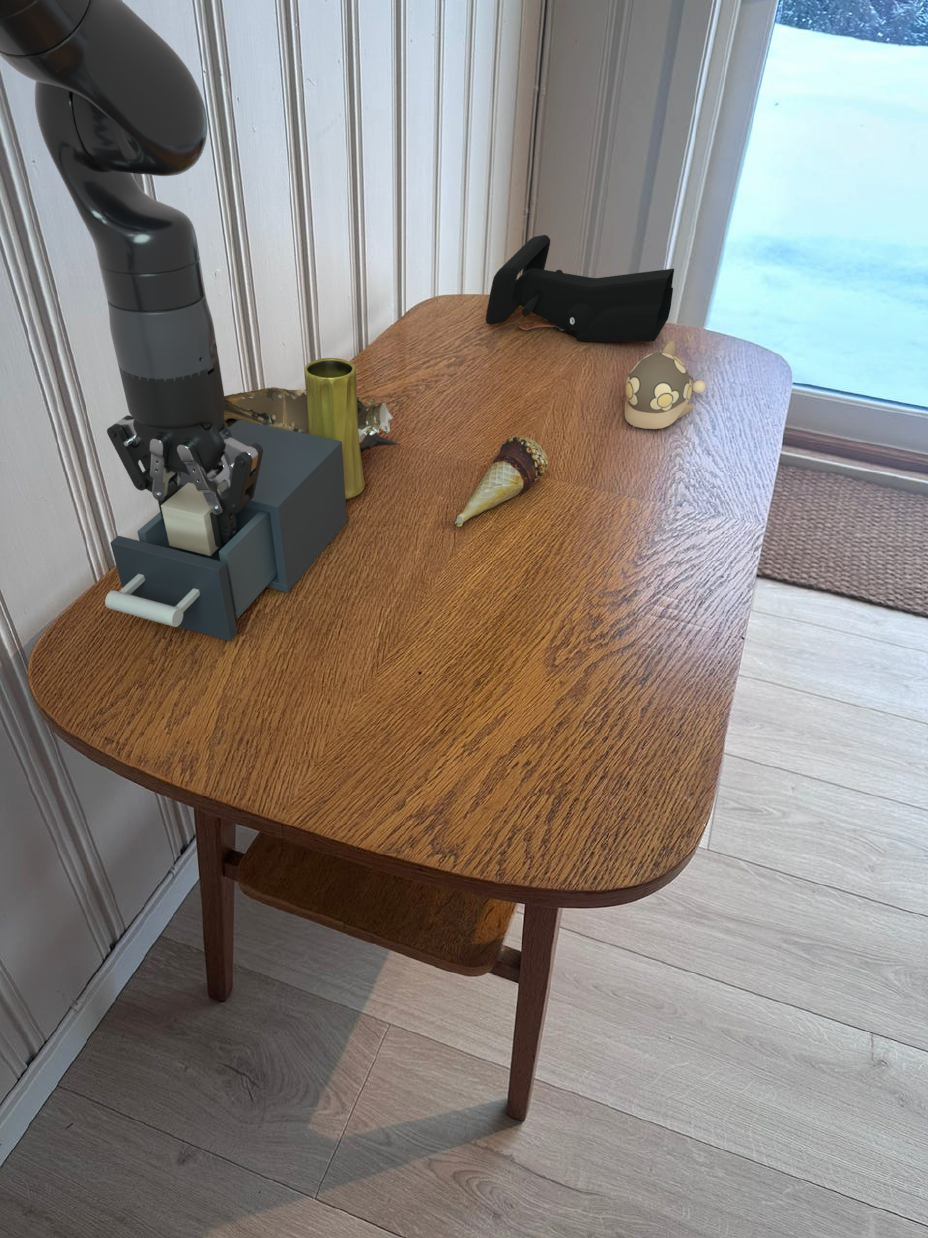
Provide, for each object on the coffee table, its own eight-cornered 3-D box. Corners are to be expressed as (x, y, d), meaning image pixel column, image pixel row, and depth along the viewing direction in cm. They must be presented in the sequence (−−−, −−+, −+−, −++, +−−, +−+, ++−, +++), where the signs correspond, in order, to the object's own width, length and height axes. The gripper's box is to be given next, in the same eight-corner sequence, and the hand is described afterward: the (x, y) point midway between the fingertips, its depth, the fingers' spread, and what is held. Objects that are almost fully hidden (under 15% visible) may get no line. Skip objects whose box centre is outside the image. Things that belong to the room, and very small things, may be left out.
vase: (357, 504, 97) (351, 382, 88) (303, 498, 98) (292, 377, 89) (370, 476, 102) (365, 358, 93) (318, 471, 103) (309, 353, 93)
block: (210, 556, 77) (203, 515, 75) (169, 545, 78) (160, 505, 76) (235, 531, 80) (229, 491, 78) (195, 521, 81) (188, 482, 79)
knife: (602, 331, 140) (597, 323, 142) (603, 328, 139) (597, 320, 142) (521, 332, 137) (517, 323, 140) (521, 328, 137) (517, 320, 139)
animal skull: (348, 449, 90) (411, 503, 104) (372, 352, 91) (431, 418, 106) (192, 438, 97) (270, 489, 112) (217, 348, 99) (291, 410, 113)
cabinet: (287, 593, 85) (277, 506, 79) (182, 565, 88) (164, 480, 82) (347, 522, 95) (342, 440, 89) (250, 500, 98) (238, 419, 91)
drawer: (203, 673, 75) (188, 600, 70) (98, 643, 77) (75, 570, 72) (295, 567, 87) (288, 498, 82) (202, 543, 89) (189, 475, 84)
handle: (665, 352, 126) (648, 246, 118) (495, 371, 140) (469, 277, 131) (691, 305, 138) (678, 205, 129) (532, 327, 151) (510, 238, 143)
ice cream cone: (432, 492, 94) (512, 418, 101) (438, 532, 98) (515, 458, 105) (478, 512, 91) (558, 434, 98) (483, 552, 95) (558, 475, 103)
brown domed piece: (637, 413, 127) (606, 425, 114) (648, 333, 123) (617, 336, 110) (708, 422, 123) (684, 435, 110) (721, 340, 119) (698, 344, 106)
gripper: (58, 356, 67) (109, 542, 78) (222, 389, 64) (251, 578, 75) (119, 322, 73) (158, 500, 84) (273, 351, 69) (293, 532, 80)
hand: (202, 536), depth 79 cm, fingers closed on block, 4 cm apart
